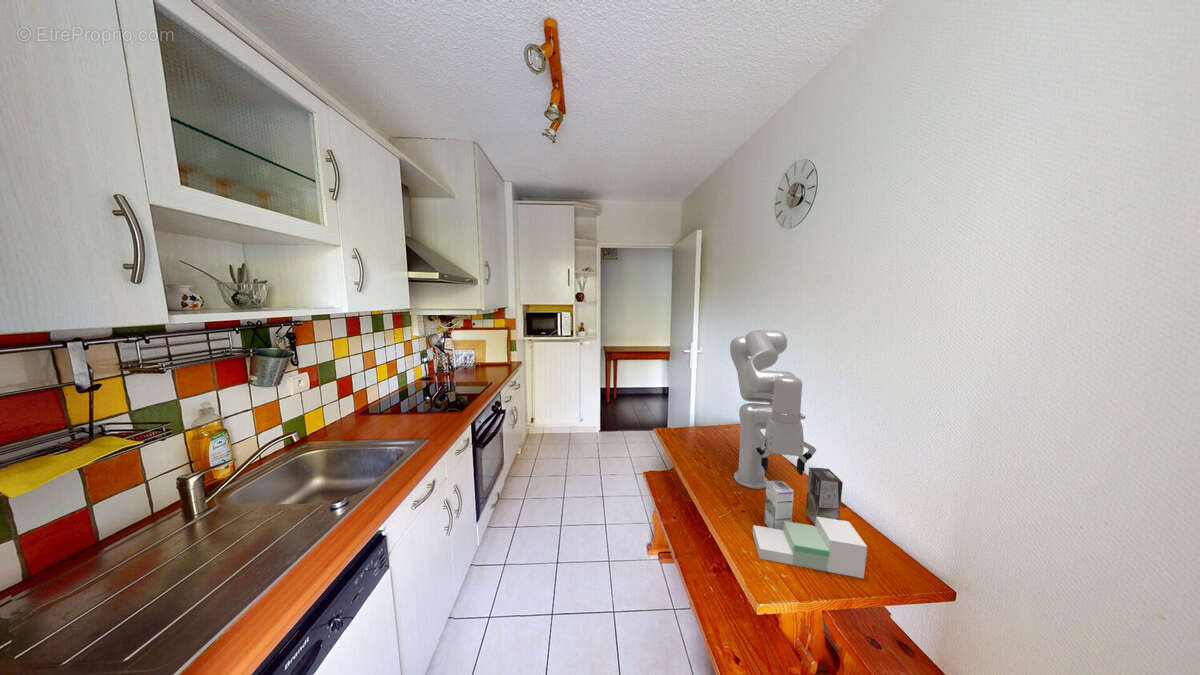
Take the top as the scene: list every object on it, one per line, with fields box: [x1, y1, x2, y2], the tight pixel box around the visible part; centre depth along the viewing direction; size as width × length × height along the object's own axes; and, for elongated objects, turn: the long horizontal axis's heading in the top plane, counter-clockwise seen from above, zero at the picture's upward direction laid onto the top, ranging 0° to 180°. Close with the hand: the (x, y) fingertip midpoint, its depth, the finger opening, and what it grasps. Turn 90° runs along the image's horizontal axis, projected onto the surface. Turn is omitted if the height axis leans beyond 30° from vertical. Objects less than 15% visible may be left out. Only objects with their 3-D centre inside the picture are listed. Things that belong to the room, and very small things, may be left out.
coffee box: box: [805, 467, 844, 525], centre depth 107 cm, size 9×6×16 cm
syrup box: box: [763, 480, 794, 530], centre depth 104 cm, size 6×6×14 cm
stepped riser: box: [752, 517, 868, 579], centre depth 93 cm, size 10×25×9 cm, turn 75°
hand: (781, 470), depth 102 cm, fingers open, 9 cm apart
